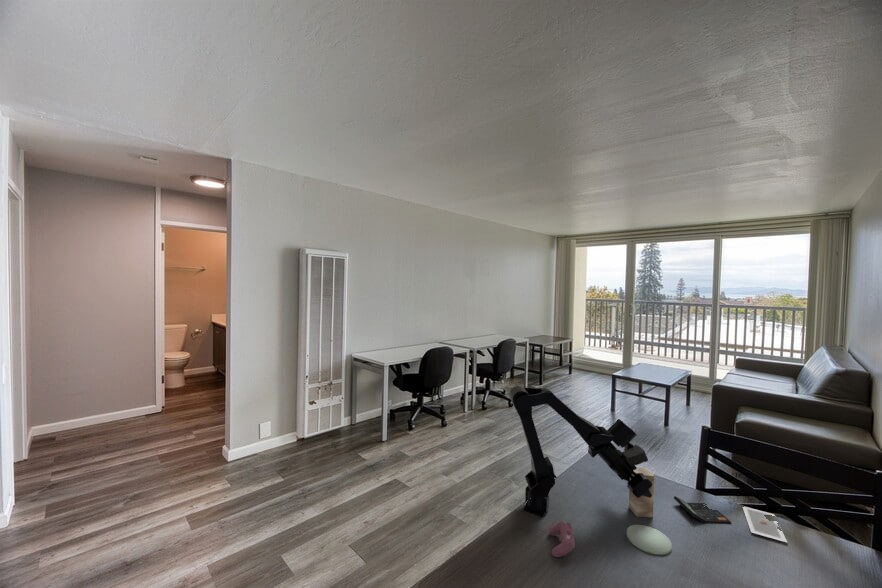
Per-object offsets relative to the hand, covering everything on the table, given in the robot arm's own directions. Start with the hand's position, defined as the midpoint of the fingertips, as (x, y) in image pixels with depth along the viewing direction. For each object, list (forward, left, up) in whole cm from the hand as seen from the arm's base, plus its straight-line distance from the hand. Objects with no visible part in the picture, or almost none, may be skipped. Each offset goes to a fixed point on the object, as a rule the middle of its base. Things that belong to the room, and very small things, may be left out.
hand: (646, 491), depth 115 cm
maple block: (-1, -1, -7) cm, 7 cm away
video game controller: (-18, -31, -7) cm, 36 cm away
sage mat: (+2, -14, -7) cm, 16 cm away
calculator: (+15, +10, -7) cm, 19 cm away
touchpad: (+30, +14, -7) cm, 34 cm away
